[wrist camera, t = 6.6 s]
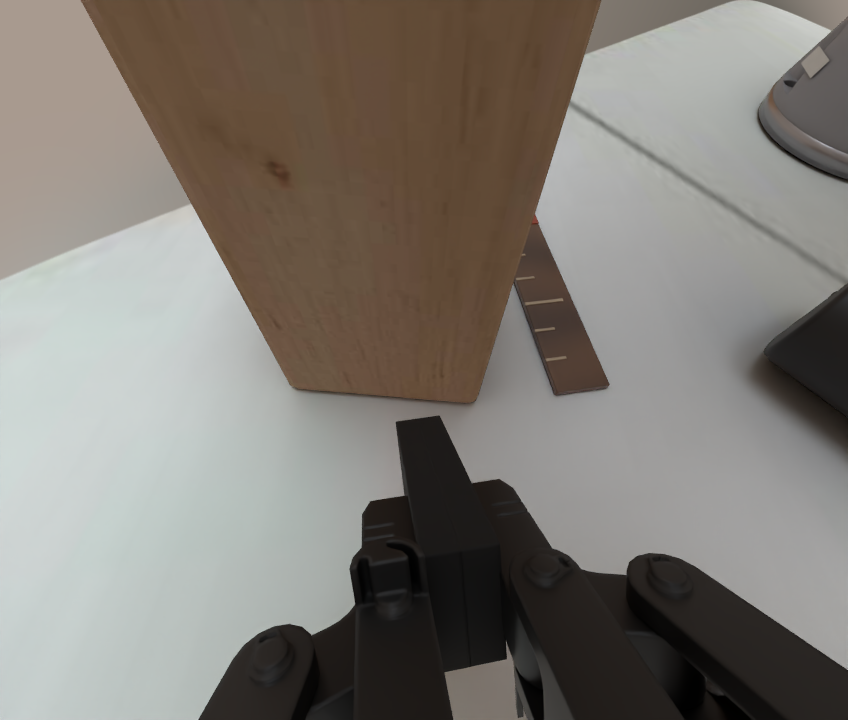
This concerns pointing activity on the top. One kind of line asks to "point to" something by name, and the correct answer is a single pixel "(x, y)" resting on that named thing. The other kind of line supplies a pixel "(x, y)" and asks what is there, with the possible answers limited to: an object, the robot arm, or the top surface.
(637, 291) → the top surface
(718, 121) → the top surface
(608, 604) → the robot arm
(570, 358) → the ruler
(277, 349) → the wooden block
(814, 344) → the end cap
